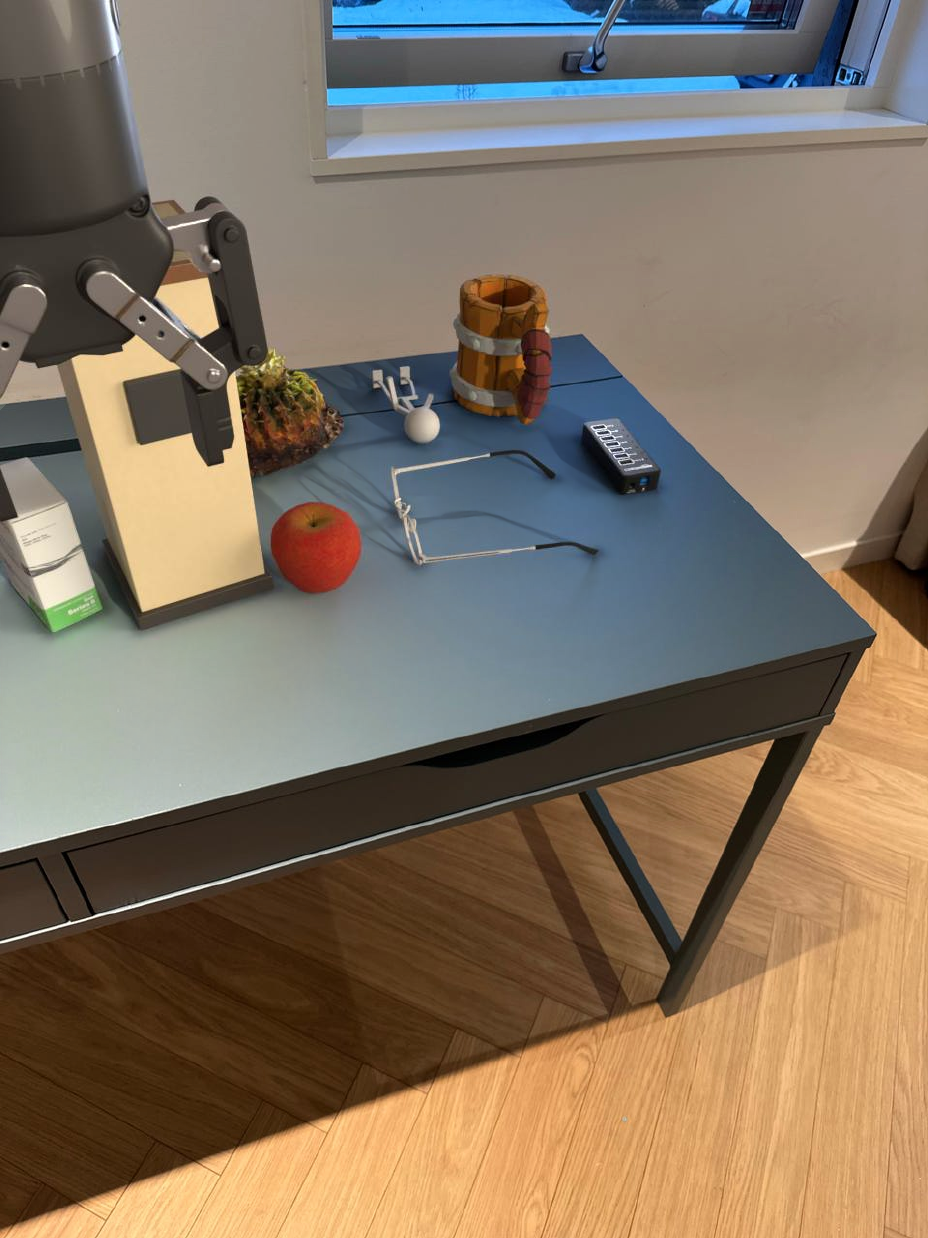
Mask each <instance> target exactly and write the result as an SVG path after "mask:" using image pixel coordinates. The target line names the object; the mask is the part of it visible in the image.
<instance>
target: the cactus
mask: <svg viewBox="0 0 928 1238" xmlns="http://www.w3.org/2000/svg"><path fill="white" fill-rule="evenodd" d="M286 360H287V359H286V355H281V354H280V353H276V349H275V348H273V349H270V348H268V354H267V357H266V358H265V360H264V361H263V362H262V363H261V364H259V365H256V366H249V365H244V366H242V367H241V368H239V370H240V369H241V370H242V371H240V372H239V374H238V376H237V377H236V382H237V389H238V396H239V402H240V409H241V416H242V423H243V429H244V436H245V443H246V450H247V457H248V463H249V470H250V476H252V478H256V476H257V475H260V476H262V477H266V476H270V475H271V474H273V473H275V472H279V471H281V470H285V469H289V468H291V467H294V466H298V465H301V464H302V463H305V462H306V461H308V460H310V459H312V458H313V457H315V456H317V454H318V453H319V452H320V450H326V449H327V448H328V447H329V446H330V445H331V444H332V443H333V442H334V441H335V439H337V437H339V436H340V435H339V434H341V433H342V432H343V429H344V427H345V425H344V419H343V416H342V415H341V413H340V411H339V410H337V409H336V408H335V407H334V406H332V405H331V404H330V403H328V404H327V403H325V400H324V399H323V397H324V394H323V393H322V392H321V391H320V390H319V387H318V385H317V384H316V383H315V381H317V380H318V379H317V378H316V379H315V378H314V379H313V377H312V376H309V374H307V373H306V372H303V371H297V370H296V368H295V367H291V368H289V367H286V366H284V365H285V363H286Z"/></svg>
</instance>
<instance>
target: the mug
mask: <svg viewBox="0 0 928 1238" xmlns="http://www.w3.org/2000/svg"><path fill="white" fill-rule="evenodd" d="M547 300H548V296H547V293H546V290H545V289H544V288H543V287H540V285H538V284H537V283H535V282H534V281H531V280H530V279H527V278H525V277H521V276H517V275H512V274H507V275H506V276H505V275H504V274H494V275H492V274H486V275H482V276H479V277H475V278H473V279H468V280H465V281H464V282H463V283H462V284H461V285H460V288H459V313H458V314H457V316H456V318H455V319H454V320H453V323H452V325H453V328H454V329H455V335H456V339H458V345H457V359H456V362H455V363H454V364H453V366H452V368H451V369H450V370H449V373H448V375H449V378H450V379H451V385H452V388H453V390H452V393H453V397H454V398H455V401H456V402H458V403H459V405H460V406H462V407H463V408H465V409H466V410H467V411H470V412H473V413H475V414H479V415H483V416H488V417H491V416H494V417H497V418H501V417H502V416H503V417H512V416H516V417H517V419H518V421H519V422H520V424H522V425H523V426H525V425H530V424H531V425H532V423H533V422H534V420H535V419H537V418H538V417H539V416H540V413H541V411H542V409H543V407H544V405H546V404H547V401H548V395H549V392H550V389H551V383H550V376H551V375H552V374H553V370H552V366H551V361H552V359H553V357H552V355H553V353H552V342H551V341H552V340H551V336H550V332H551V331H550V327H548V326H547V325H548V324H547V320H548V316H549V312H550V310H549V307H548V304H547Z"/></svg>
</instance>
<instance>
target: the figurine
mask: <svg viewBox="0 0 928 1238" xmlns="http://www.w3.org/2000/svg"><path fill="white" fill-rule="evenodd" d="M410 371H411V369H410V366H409V365H406V366H400V367H399V383H400V385H407V384H408V385H409V387H410V392H411V395H407V396H401V397H398V396H397V391H396V386H395V383H394V378H393V376H391V375H389V376H386V377H385V380H386V383H387V387H386V385H385V384H384V379H383V370H382V369H376V370H375V369H374V370H372V387H373V389H377V388H378V389H379V388H381V389H382V391H383V394H385V396H386V398H387V399H388V400H389V402H390V403H391V406H392V409H393V410H394V411H396V412H397V413H400V414H402V415H404V416H405V418H404V422H403V423H404V424H403V426H404V427H403V428H404V431H405V432H404V433H405V434H406V435H407V437H408V438H409V439H410V440H411V441H412V442H414V443H417V444H427V443H430V442H432V441H433V440H435V438H436V437H437V436H438V434H439V433H440V429H441V424H440V419H439V417H438V415H437V413H436V412H435V411H433V410H432V409H431V408H430V407H431V405H432V403H433V400H434V393H429V394H428V395H427V398H426V401H425V403H424V404H423V405H422V406H418V407H416V408H415V407H414V406H413V404H412V402H411V401H413V400H418V399H419V396H418V394H416V390H415V387H414V382H413V381H412V380H411V379H410V378H411V376H410V375H411V373H410ZM399 402H401V404H402V405H403V406H402V405H400V404H399Z"/></svg>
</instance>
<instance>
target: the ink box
mask: <svg viewBox="0 0 928 1238" xmlns="http://www.w3.org/2000/svg"><path fill="white" fill-rule="evenodd" d="M0 469H1V471H2V474H3V477H4V480H5V482H6V485H7V488H8V490H9V493H10V496H11V498H12V501H13V504H14V507H15V509H16V512H17V515H18V518H15V519H11V520H7V521H3V522H0V557H1V559H2V562H3V564H4V567H5V570H6V572H7V574H8V577H9V580H10V582H11V585H12V586H13V588H14V589H15V590H16V591H17V593H18V594H19V596H21V597H22V599H23V600H24V601H25V602H26V603H27V605H28V606H29V607H30V608H31V609H32V610H33V612H34V613H35V614H36V616H37V617H38V618H39V620H40V621H41V622H42V623H43V624H44V625H45V626H46V628H47V629H48V630H49V632H51V633H57V632H58V631H61V630H63V629H64V628H67V627H69V626H71V625H73V624H76V623H78V622H80V621H82V620H84V619H87V618H88V617H90V616H92V615H94V614H96V613H98V612H100V611H101V610H103V606H102V601H101V599H100V597H99V594H98V591H97V588H96V584H95V581H94V579H93V575H92V573H91V569H90V567H89V563H88V560H87V557H86V554H85V552H84V549H83V546H82V542H81V539H80V536H79V533H78V529H77V526H76V524H75V523H76V522H75V520H74V517H73V514H72V511H71V509H70V505H69V502H68V500H66V499H65V497H64V496H63V495H62V494H61V493H60V492H59V491H58V489H56V487H55V486H54V485H53V484H52V483H51V482H50V481H49V480H48V478H47V477H46V476H45V475H44V474H43V473H42V472H41V470H39V469H38V467H37V466H36V465H35V464H34V463H33V462H32V461H31V460H30V459H29V457H26V456H25V457H22V458H18V459H15V460H13V461H9V462H7V463H3V464H0Z"/></svg>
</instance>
